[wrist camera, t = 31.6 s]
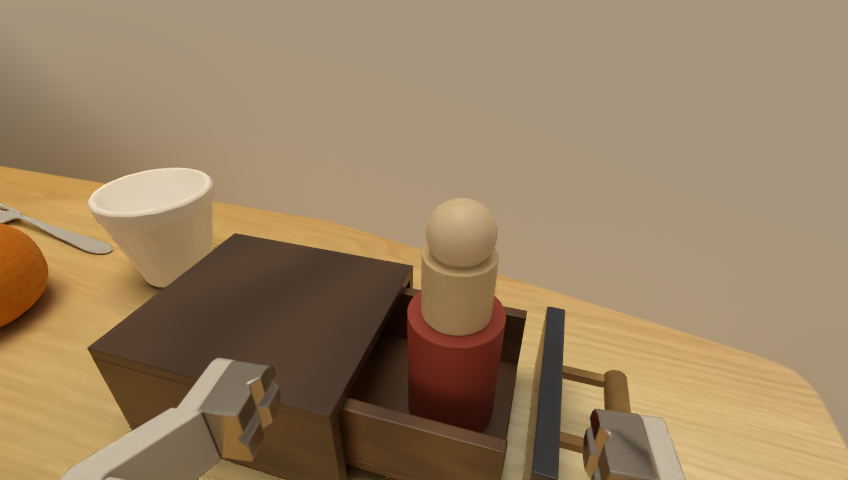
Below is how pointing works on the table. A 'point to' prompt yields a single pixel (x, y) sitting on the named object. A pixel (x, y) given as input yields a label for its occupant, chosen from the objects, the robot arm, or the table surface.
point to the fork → (58, 232)
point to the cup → (158, 220)
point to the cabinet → (260, 341)
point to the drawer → (452, 446)
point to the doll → (456, 319)
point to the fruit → (19, 273)
